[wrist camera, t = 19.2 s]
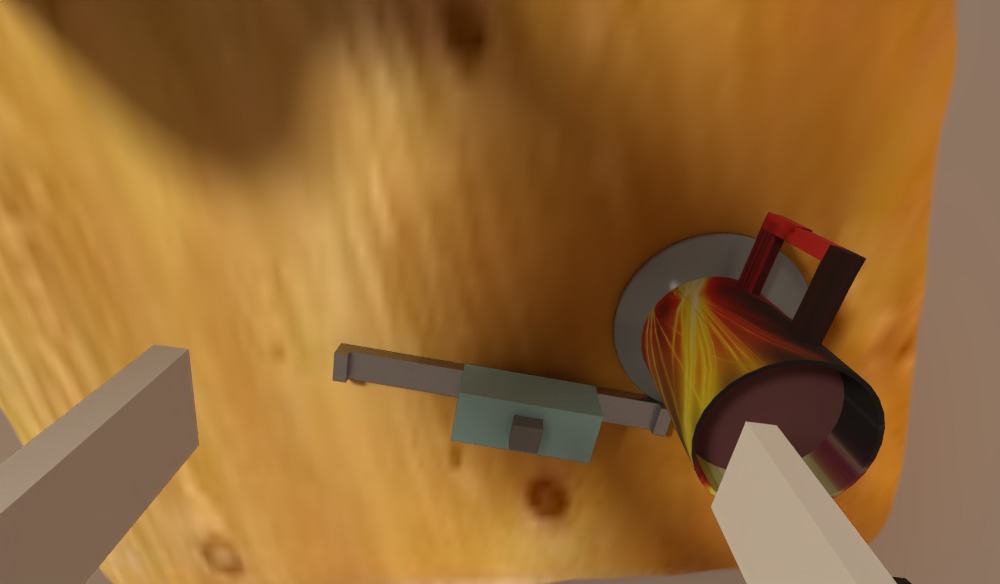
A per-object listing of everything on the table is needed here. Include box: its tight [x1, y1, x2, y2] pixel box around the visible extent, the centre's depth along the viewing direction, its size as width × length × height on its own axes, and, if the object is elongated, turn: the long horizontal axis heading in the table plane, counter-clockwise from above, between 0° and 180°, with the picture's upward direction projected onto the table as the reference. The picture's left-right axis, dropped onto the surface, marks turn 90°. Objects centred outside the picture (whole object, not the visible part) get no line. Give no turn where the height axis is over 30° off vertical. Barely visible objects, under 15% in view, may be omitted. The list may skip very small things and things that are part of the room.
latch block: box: [451, 364, 603, 463], centre depth 37 cm, size 4×10×5 cm, turn 80°
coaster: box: [613, 233, 808, 403], centre depth 38 cm, size 14×14×1 cm
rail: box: [333, 343, 671, 436], centre depth 40 cm, size 2×26×2 cm, turn 80°
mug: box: [641, 212, 885, 498], centre depth 31 cm, size 10×14×12 cm
